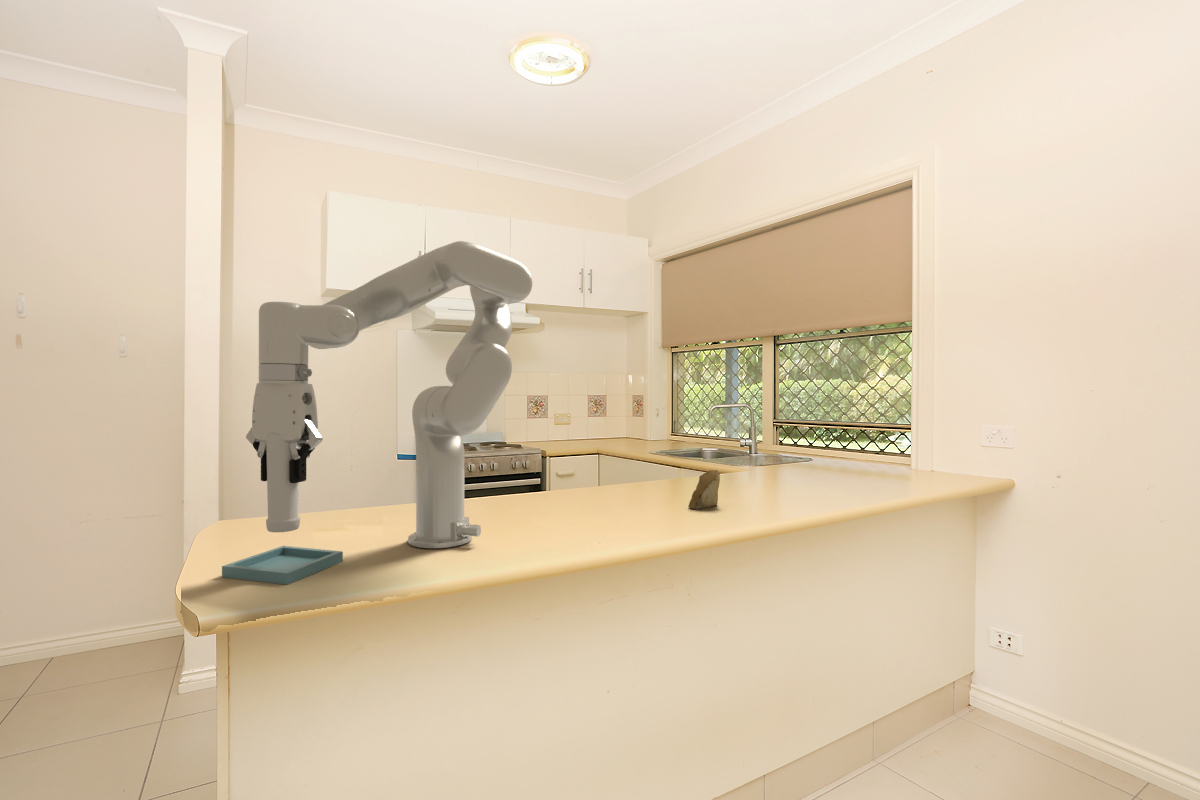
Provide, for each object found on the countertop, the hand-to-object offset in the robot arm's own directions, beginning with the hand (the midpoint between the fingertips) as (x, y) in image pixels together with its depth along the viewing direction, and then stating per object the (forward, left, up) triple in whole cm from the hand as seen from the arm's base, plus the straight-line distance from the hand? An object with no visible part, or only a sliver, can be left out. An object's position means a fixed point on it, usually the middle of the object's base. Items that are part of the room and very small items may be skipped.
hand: (283, 479), depth 102 cm
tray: (0, 0, -15) cm, 15 cm away
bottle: (0, 0, -9) cm, 9 cm away
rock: (-64, -76, -16) cm, 101 cm away
